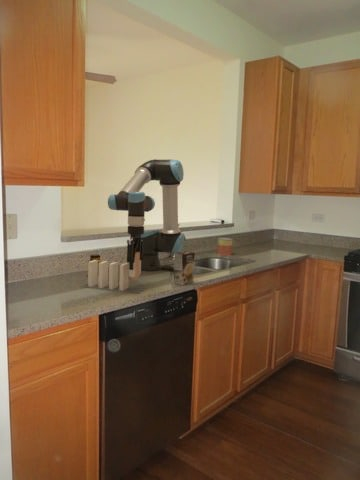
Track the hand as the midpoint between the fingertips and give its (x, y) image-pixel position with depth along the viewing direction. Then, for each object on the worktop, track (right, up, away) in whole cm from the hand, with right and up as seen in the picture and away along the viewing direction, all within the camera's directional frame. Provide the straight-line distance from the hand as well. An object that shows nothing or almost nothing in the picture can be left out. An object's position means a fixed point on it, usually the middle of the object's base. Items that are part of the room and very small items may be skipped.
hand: (134, 274), depth 184 cm
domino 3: (-11, -7, +4) cm, 13 cm away
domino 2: (-16, -6, +6) cm, 18 cm away
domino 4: (-5, -7, +3) cm, 9 cm away
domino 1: (-21, -6, +8) cm, 23 cm away
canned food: (+55, +5, +115) cm, 128 cm away
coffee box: (+23, -6, +21) cm, 32 cm away
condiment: (-25, -4, +28) cm, 38 cm away
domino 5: (0, -1, 0) cm, 1 cm away
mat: (-11, -7, +5) cm, 14 cm away
